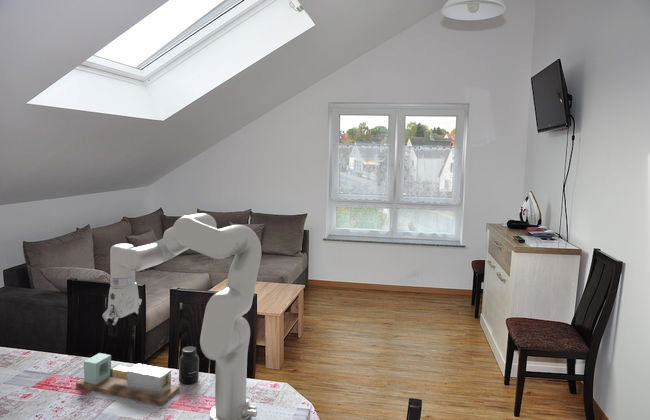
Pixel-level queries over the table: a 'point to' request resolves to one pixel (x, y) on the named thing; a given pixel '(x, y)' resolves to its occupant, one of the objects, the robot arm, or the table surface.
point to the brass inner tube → (124, 373)
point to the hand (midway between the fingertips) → (123, 330)
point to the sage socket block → (97, 368)
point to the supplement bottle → (188, 366)
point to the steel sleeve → (148, 379)
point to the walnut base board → (120, 389)
